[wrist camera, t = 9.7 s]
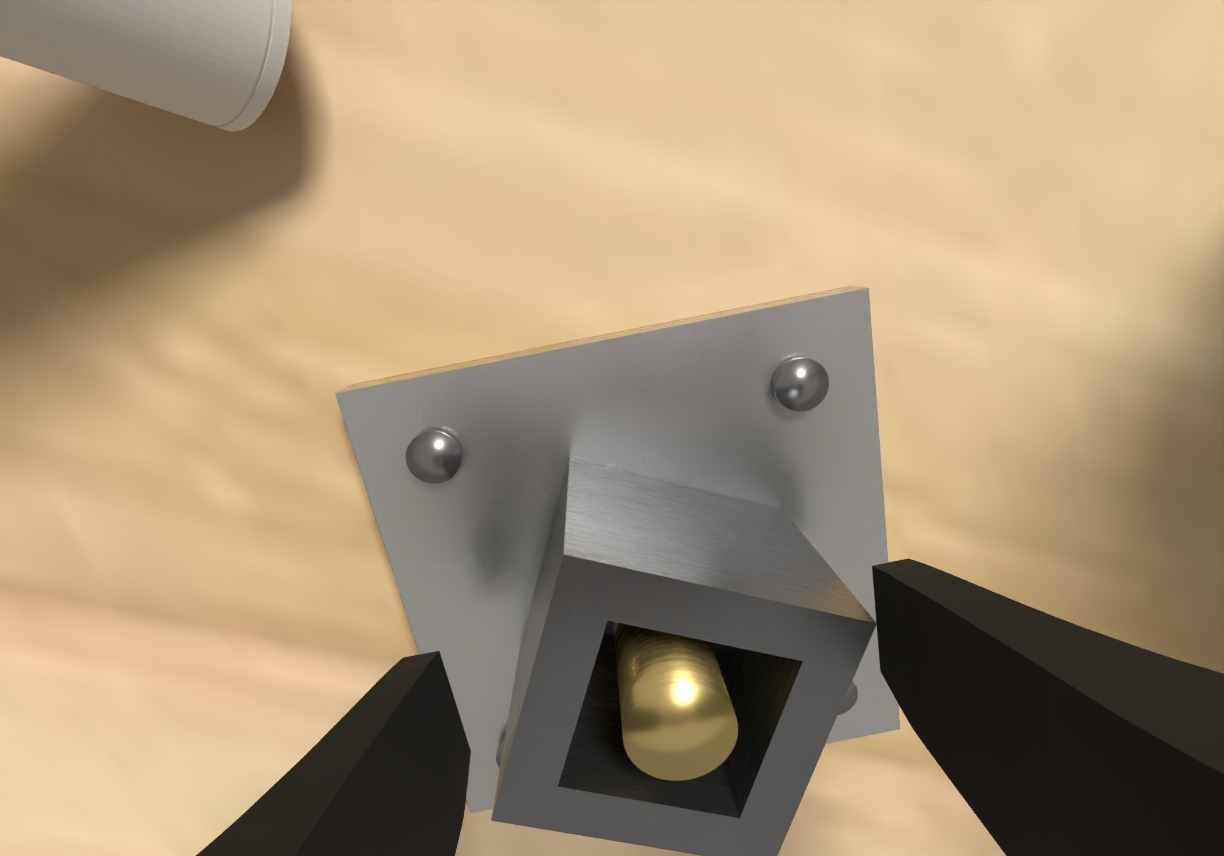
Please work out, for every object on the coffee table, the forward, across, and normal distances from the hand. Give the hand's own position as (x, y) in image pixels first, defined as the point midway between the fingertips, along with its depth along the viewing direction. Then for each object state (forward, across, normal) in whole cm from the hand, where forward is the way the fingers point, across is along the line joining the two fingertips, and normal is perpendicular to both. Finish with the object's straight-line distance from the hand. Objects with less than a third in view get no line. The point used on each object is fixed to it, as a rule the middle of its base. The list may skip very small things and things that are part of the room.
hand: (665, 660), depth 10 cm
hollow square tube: (+3, 0, 0) cm, 3 cm away
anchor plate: (+3, 0, 0) cm, 3 cm away
